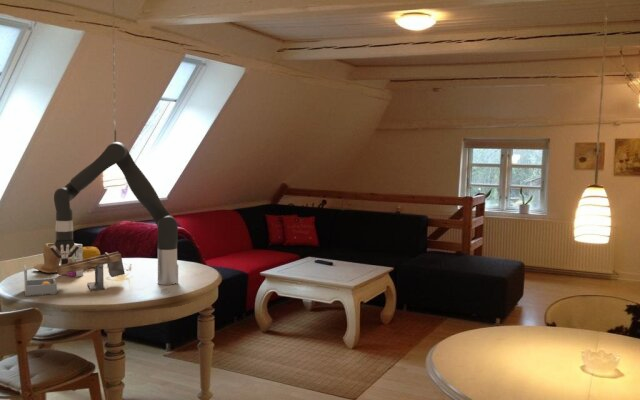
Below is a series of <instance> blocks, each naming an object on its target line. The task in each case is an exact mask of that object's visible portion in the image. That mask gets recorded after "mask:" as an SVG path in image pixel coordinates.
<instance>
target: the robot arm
mask: <svg viewBox="0 0 640 400" xmlns="http://www.w3.org/2000/svg"><path fill="white" fill-rule="evenodd" d="M114 165H116V166H117V167H118V168H119V169H120V171H121V172H122V175H123V176H124V178H125V181H126V183H127V185H128V187H129V189H130V191H131V192H132V194H133V195H134V197H135V198H136V199H137V200H138V202H139V203H140V204H141V205H142V206H143V207H144V208H145V209H146V210H147V211H148V213H149V214H150V215H151V217H152V219H153V221H154V222H155V225H156V226H157V284H158V285H161V286H163V285H164V286H168V285H169V286H170V285H175V283H176V284H179V263H178V241H179V240H178V237H179V235H178V234H179V233H178V230H179V228H178V227H179V226H178V222H177V220H176V219H175V217H174V216H173V215H172V214H171V213H170V212H169V211H168V210H167V209H166V207H165V206H164V205H163V204H162V201H161V199H160V197H159V195H158V193H157V191H156V190H155V188H154V187H153V185H152V184H151V182H150V181H149V179H148V178H147V177H146V176H145V174H144V172H142V170H141V169H140V168H139V167H138V165H137V164H136V162H135V160H134V159H133V158H132V155H131V154H130V151H129V150H128V147H126V145H125V144H124V143H122V142H120V141H114V142H111V143H110V144H108V145H107V146H106V148H105V149H104V150H103V151H102V153H101V154H100V155H99V156H98V157H97V158H96V159H95V160H94V161H92V162H91V163H90V164H89V165H87V166H86V167H84V168H83V169H82V170H80V171H79V172H78V173H77V174H76V175H74V176H73V177H72V178H71V179H70V181H69V182H68V183H67V184H66V185H65V186H63V187H59V188H57V189H56V190H55V192H54V194H53V201H54V207H55V242H54V244H55V245H54V246H52V247H50V249H51V251H52V252H53V253H54V254H55V255H56V256H57V257H58V258H61V263H60V265H61V264H62V265H63V264H67V263H68V258H69V257H72V256H73V255H74V253H75V252H76V251H77V250H78V248H79V247H78V246H76V245H75V244H76V243H75V241H74V223H73V210H72V208H71V203H70V202H71V201H72V200H73V199H75V198H76V197H77V196H78V195H79V194H80V193H81V192H82V190H84V189H86V188H87V187H88V186H89V185H90V184H92V183H93V182H94V181H95V180H96V179H97V178H98V177H99V176H100V175H101V174H102V173H104V172H105V171H106V170H108V169H109V168H110V167H112V166H114ZM74 243H75V244H74ZM55 247H57V249H58V250H59V251H60V252H61V255H59V254H58V253H57V252H56V251H55V250H56V248H55ZM72 247H73V250H72V251H71V253H70V254H69V250H70V249H71V248H72ZM64 251H65V258H64ZM68 254H69V255H68Z"/></svg>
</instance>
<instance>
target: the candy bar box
mask: <svg viewBox="0 0 640 400" xmlns="http://www.w3.org/2000/svg"><path fill="white" fill-rule="evenodd" d="M74 244H75V245H76V246H78V247H79V248H78V250H77V251H76V252H75V253H74V255H73V256H72V257H69V258H68V263H72V262H76V261H80V260H83V247H84V246H83V244H82V243H75V242H74ZM72 250H73V247H72V248H71V249H70V250H69V254H70V253H71V251H72ZM69 254H68V255H69ZM60 255H61V252H60ZM64 258H65V251H64ZM59 264H60V265H62V264H61V258H60V263H59ZM62 276H67V277H71V278H73V277H74V278H79V277H82V276H84V269H83V270H79V271H75V272H71V273H67V274H62Z"/></svg>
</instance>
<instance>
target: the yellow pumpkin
mask: <svg viewBox="0 0 640 400" xmlns="http://www.w3.org/2000/svg"><path fill="white" fill-rule="evenodd" d="M97 256H101V251H100V250H99V248H98V247H96V246H83V260H84V259H89V258H93V257H97ZM92 268H94V267H91V268H90V269H92Z"/></svg>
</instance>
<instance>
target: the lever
mask: <svg viewBox="0 0 640 400" xmlns="http://www.w3.org/2000/svg"><path fill="white" fill-rule="evenodd" d="M99 263H103V266H104V265H107V269H108V275H109V276H110V277H111V278H115V277H118V276H119V277H120V276H122V275H125V274H126V273H125V268H124V263H123V258H122V254H121V253H120V252H119V251H115V252H111V253H108V252H104V254H100V256H97V257H93V258H89V259H84V260H80V261H76V262H72V263H67V264H63V265H61V264H59V266H56V268H57V272H56V273H57V274H58V276H61V275H62V274H67V273H71V272H75V271H79V270H83V271H84V270H86V269H92V268H91V267H93V268H95V266H98V264H99ZM62 276H63V275H62Z"/></svg>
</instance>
